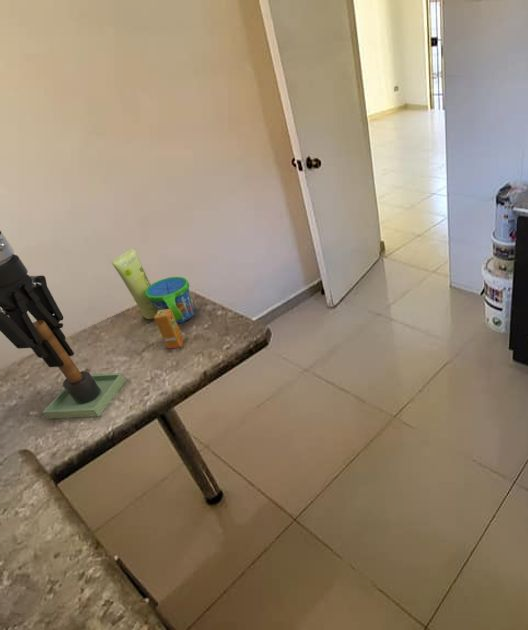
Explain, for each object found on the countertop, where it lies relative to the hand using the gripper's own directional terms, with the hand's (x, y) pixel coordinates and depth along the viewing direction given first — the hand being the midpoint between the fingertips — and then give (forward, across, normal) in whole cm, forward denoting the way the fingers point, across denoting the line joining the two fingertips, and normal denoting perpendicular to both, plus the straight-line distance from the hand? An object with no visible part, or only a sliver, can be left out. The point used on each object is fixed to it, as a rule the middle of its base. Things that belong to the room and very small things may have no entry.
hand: (61, 360), depth 91 cm
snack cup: (+12, +30, -8) cm, 33 cm away
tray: (+12, 0, 0) cm, 12 cm away
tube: (+12, +32, +1) cm, 34 cm away
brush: (+11, 0, 0) cm, 11 cm away
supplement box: (+12, +18, -12) cm, 25 cm away
